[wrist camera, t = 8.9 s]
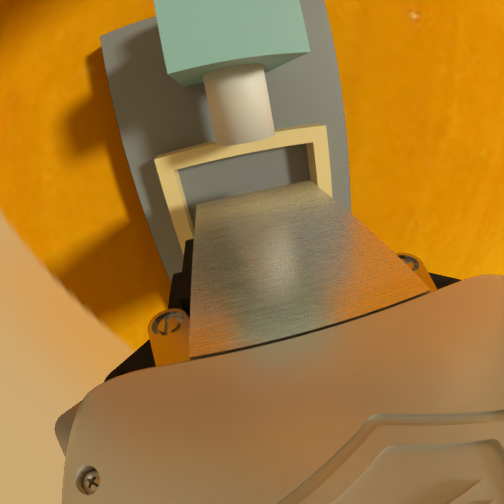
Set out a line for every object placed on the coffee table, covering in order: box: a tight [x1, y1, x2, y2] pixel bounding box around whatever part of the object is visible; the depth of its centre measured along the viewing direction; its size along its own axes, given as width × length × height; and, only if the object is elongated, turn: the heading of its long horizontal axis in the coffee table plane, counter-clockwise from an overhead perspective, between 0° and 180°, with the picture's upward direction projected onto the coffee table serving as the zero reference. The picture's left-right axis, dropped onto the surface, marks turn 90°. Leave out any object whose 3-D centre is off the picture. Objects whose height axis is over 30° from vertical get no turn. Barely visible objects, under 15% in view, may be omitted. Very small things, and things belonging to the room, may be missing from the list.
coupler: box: [189, 180, 431, 360], centre depth 9 cm, size 5×5×9 cm
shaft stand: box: [100, 0, 351, 284], centre depth 14 cm, size 24×12×8 cm, turn 10°
